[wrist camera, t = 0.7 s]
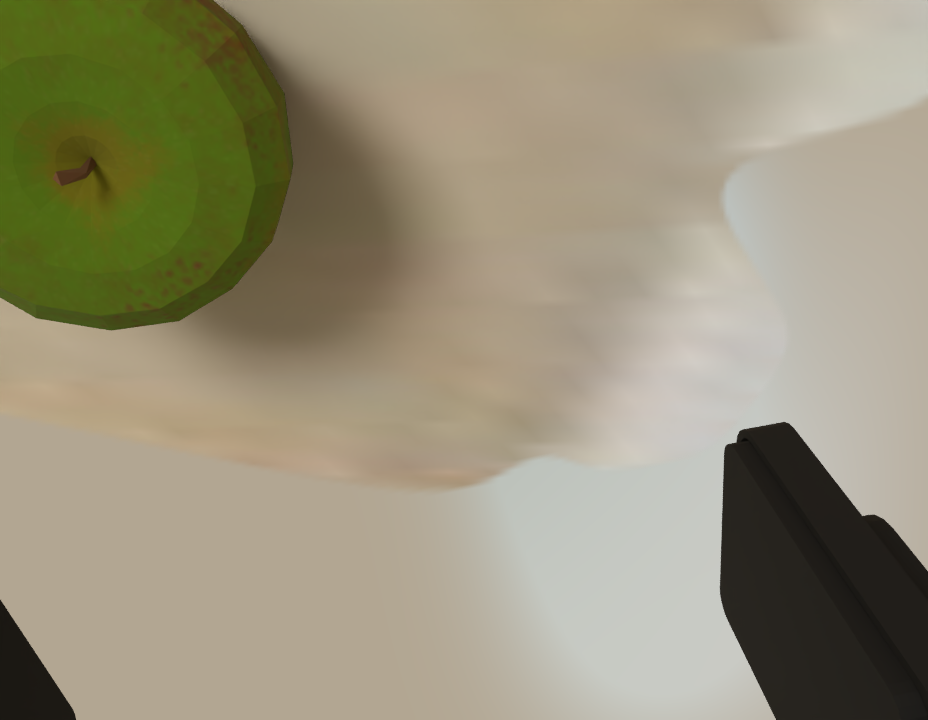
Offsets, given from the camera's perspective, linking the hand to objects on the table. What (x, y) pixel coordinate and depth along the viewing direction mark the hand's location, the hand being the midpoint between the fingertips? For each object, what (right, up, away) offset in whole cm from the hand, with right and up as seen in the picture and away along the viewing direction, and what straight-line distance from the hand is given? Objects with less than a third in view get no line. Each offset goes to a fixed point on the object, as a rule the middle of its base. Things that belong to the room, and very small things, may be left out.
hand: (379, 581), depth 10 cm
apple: (-12, +14, +23) cm, 30 cm away
